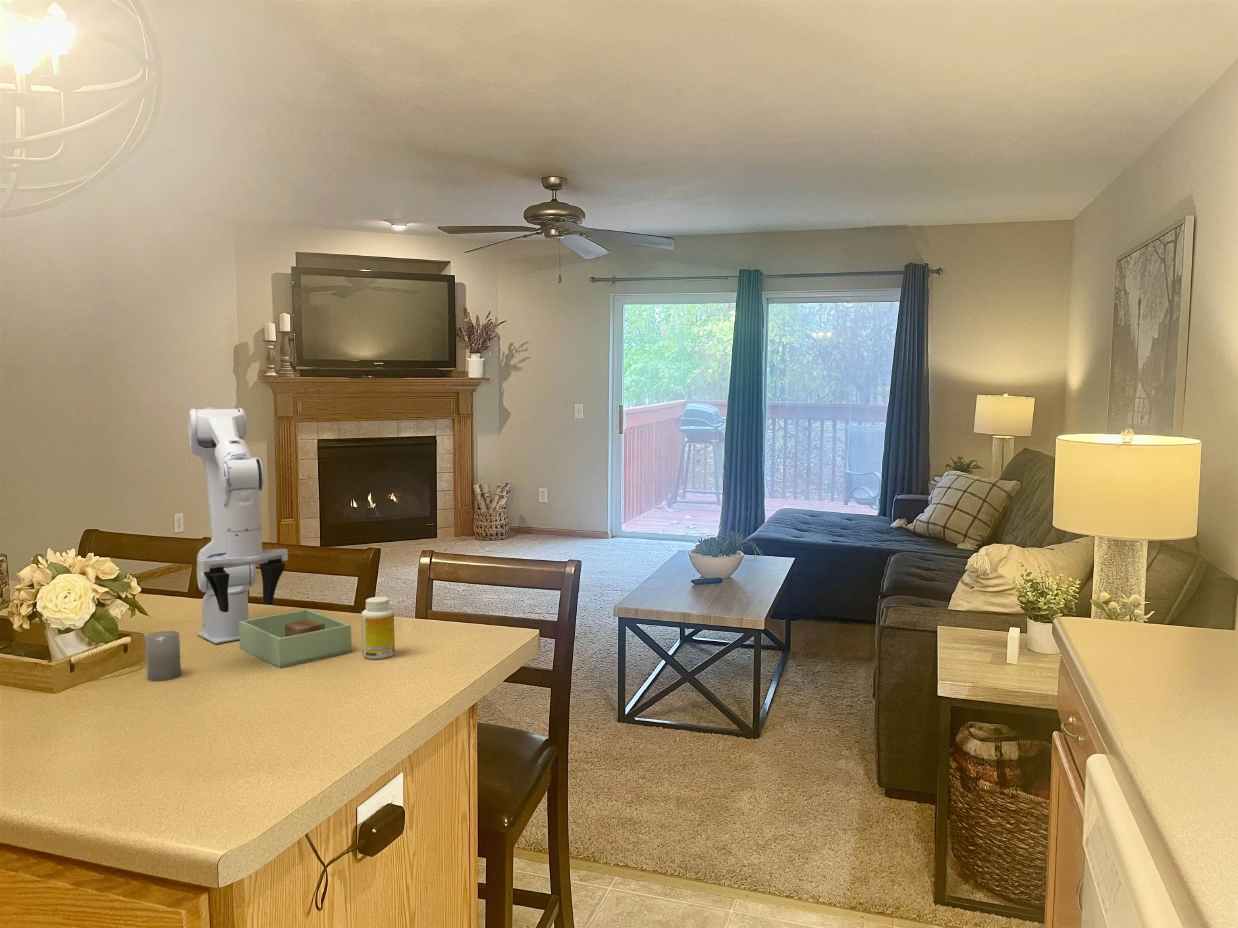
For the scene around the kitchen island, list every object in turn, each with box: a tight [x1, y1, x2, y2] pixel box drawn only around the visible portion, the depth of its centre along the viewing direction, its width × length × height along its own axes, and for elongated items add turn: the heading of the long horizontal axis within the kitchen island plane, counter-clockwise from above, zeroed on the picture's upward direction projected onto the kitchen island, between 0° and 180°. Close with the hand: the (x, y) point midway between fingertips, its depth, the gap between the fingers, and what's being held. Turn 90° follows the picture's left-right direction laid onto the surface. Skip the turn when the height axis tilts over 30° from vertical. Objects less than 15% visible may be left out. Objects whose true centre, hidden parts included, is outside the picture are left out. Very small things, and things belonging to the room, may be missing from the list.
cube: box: [285, 619, 325, 637], centre depth 159 cm, size 5×5×5 cm
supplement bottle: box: [360, 596, 396, 660], centre depth 158 cm, size 6×6×10 cm
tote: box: [239, 608, 353, 669], centre depth 162 cm, size 17×13×5 cm
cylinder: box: [144, 630, 182, 682], centre depth 148 cm, size 5×5×7 cm
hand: (246, 607), depth 154 cm, fingers open, 7 cm apart
